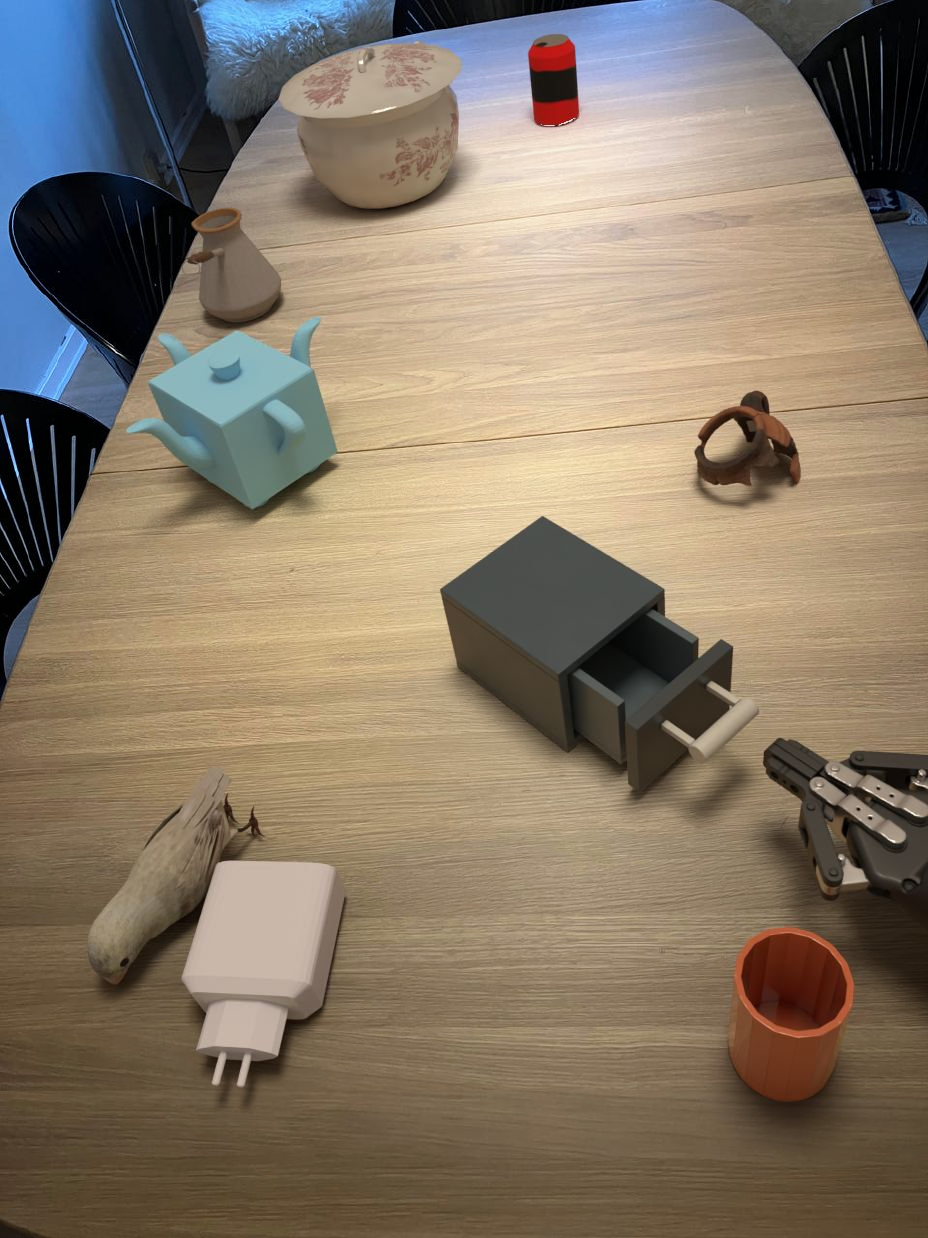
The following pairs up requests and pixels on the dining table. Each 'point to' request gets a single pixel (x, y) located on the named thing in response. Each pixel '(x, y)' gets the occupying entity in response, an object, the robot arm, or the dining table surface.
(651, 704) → the drawer
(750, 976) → the cup
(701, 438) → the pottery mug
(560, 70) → the soda can
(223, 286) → the coffee pot
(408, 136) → the chamber pot
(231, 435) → the teakettle
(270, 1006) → the charger
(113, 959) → the decorative bird
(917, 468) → the dining table surface
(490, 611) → the cabinet
